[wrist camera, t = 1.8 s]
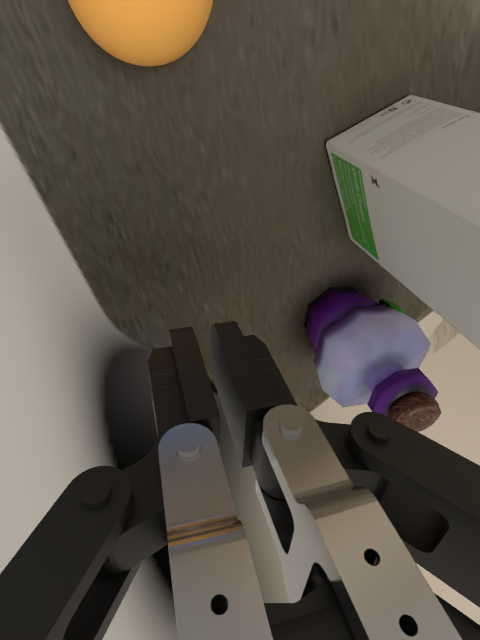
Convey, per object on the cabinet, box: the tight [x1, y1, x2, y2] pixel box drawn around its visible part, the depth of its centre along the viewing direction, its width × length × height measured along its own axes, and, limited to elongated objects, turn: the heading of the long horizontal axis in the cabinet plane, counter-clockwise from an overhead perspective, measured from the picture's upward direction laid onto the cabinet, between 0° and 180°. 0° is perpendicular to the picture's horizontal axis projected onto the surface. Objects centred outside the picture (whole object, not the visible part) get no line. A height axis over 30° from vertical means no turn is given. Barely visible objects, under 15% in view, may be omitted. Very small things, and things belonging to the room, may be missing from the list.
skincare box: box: [326, 95, 480, 349], centre depth 22 cm, size 8×7×16 cm
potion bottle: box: [304, 286, 441, 432], centre depth 30 cm, size 9×9×12 cm
